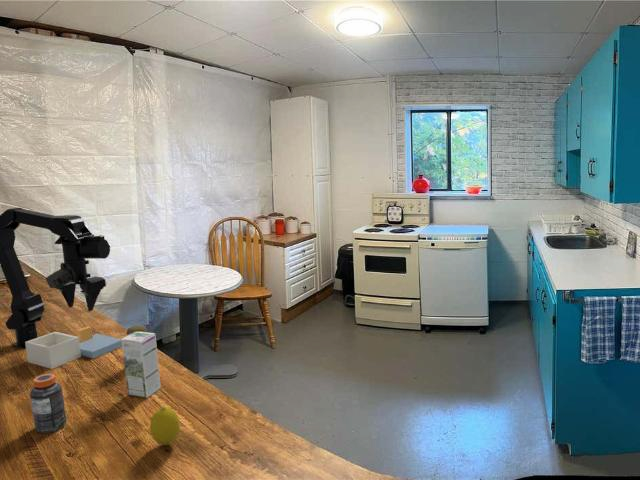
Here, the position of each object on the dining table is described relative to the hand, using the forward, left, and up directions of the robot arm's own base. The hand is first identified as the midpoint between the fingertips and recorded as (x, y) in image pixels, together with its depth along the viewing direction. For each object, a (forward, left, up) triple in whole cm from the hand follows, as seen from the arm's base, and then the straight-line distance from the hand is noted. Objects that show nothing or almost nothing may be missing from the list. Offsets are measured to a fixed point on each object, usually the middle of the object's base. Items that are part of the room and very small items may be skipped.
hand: (80, 308), depth 149 cm
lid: (+5, 0, -12) cm, 13 cm away
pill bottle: (+35, -33, -12) cm, 50 cm away
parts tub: (+1, -10, -12) cm, 16 cm away
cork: (+27, -2, -12) cm, 30 cm away
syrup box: (+41, -13, -12) cm, 45 cm away
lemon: (+63, -27, -12) cm, 70 cm away
